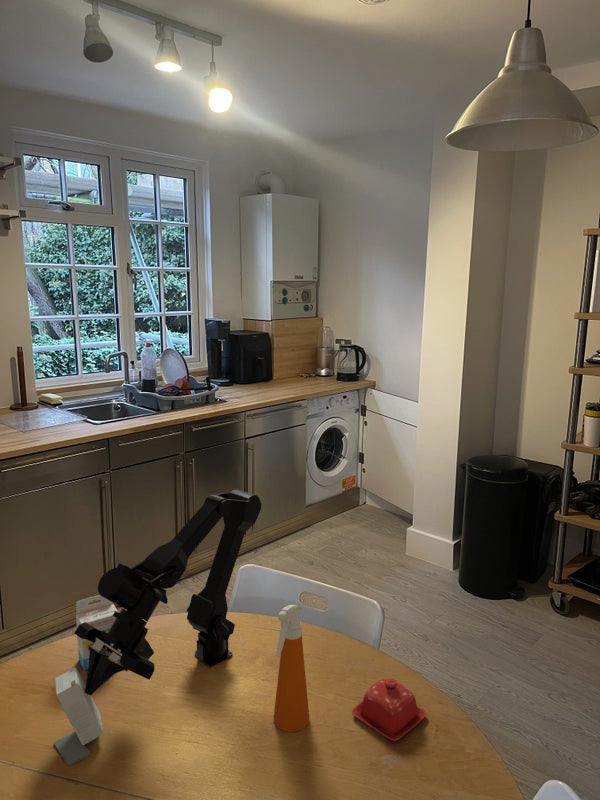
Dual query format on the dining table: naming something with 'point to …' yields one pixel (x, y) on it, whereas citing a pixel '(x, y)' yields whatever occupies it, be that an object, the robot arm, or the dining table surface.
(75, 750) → the flat gray block
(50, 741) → the dining table surface
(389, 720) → the butter dish
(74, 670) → the skincare box
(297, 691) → the spray bottle
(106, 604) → the ink box
